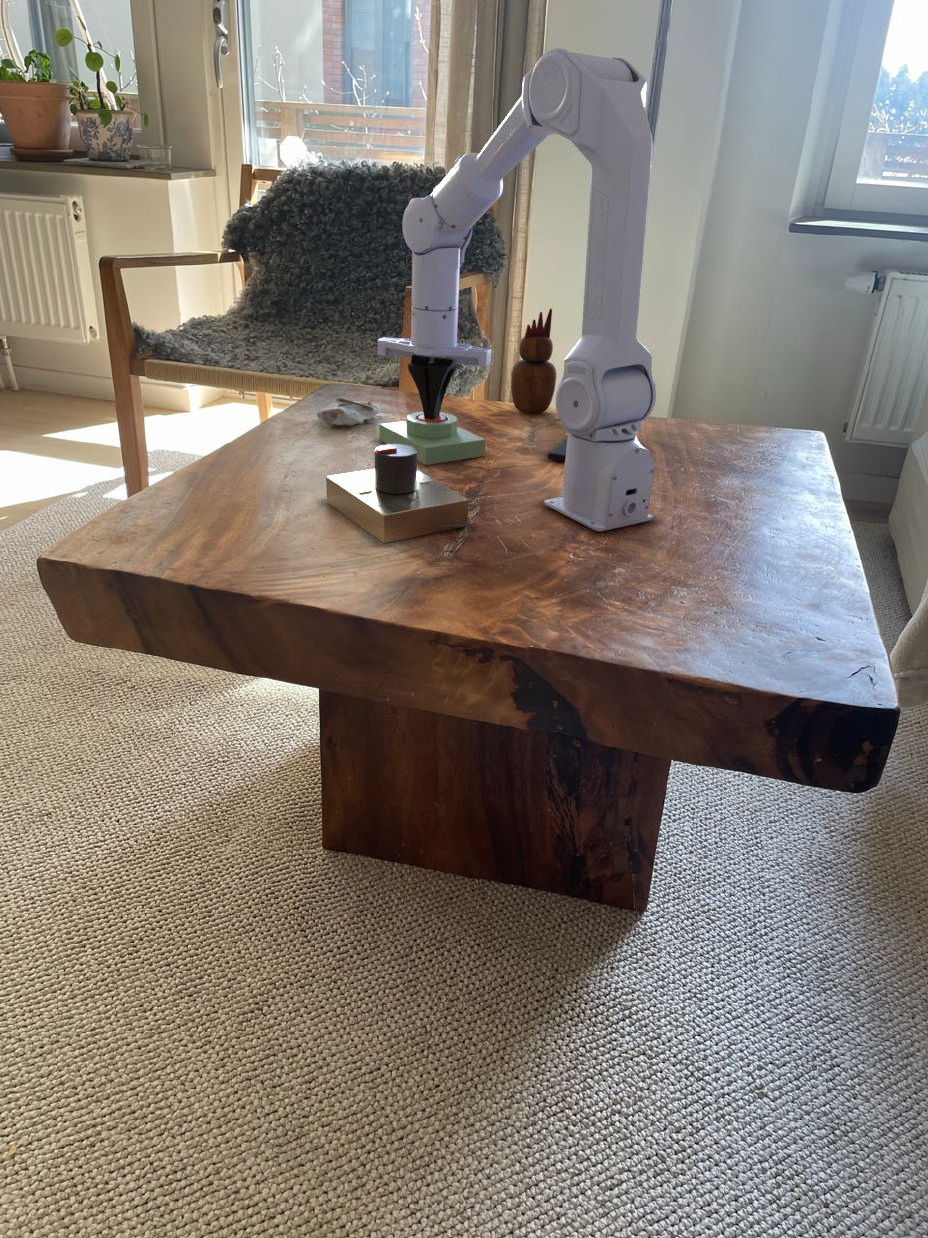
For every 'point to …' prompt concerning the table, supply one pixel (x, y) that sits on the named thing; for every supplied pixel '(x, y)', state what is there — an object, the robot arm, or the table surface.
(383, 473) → the dial
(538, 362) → the wooden figurine
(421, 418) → the button
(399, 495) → the panel
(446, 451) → the button block
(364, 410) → the stone
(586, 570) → the table surface
